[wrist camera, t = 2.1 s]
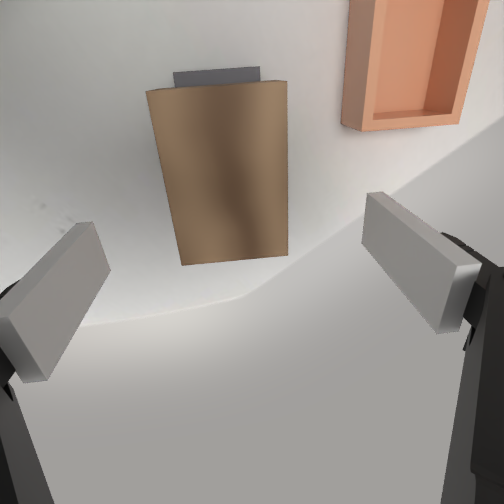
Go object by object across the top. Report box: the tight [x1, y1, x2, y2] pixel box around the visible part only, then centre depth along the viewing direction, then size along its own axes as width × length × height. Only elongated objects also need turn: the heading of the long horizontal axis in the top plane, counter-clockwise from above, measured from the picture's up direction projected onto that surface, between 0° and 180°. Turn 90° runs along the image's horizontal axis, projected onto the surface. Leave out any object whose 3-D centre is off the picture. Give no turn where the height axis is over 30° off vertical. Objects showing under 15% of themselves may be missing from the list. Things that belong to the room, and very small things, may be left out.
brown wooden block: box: [146, 80, 288, 266], centre depth 25 cm, size 9×13×5 cm
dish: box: [341, 0, 490, 132], centre depth 24 cm, size 8×11×5 cm
